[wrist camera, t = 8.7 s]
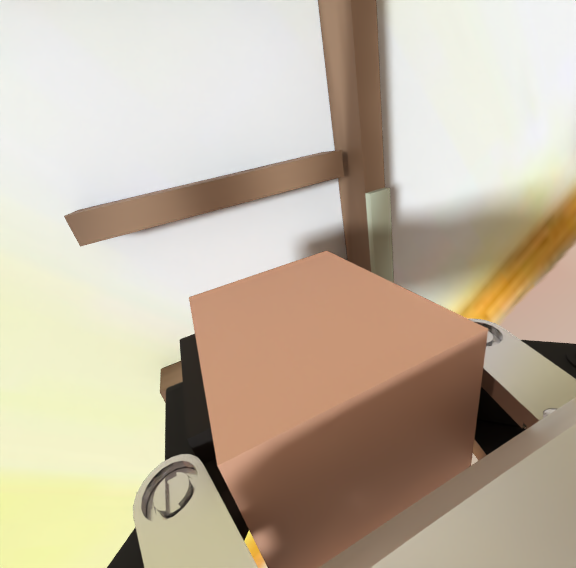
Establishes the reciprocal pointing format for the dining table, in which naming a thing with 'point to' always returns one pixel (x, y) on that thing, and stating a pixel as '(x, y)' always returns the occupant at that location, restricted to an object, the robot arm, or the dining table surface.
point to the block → (333, 401)
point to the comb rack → (293, 161)
